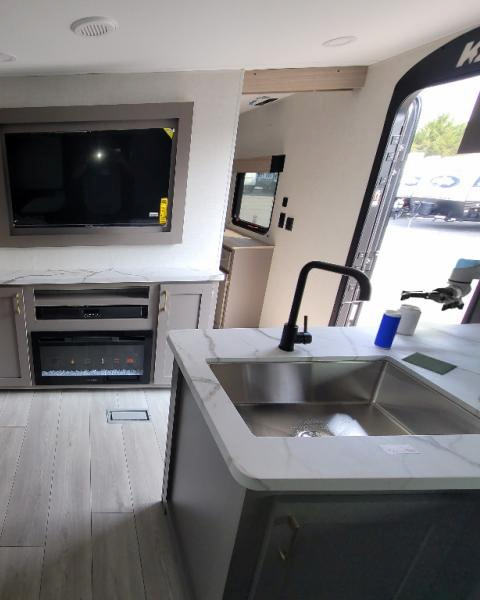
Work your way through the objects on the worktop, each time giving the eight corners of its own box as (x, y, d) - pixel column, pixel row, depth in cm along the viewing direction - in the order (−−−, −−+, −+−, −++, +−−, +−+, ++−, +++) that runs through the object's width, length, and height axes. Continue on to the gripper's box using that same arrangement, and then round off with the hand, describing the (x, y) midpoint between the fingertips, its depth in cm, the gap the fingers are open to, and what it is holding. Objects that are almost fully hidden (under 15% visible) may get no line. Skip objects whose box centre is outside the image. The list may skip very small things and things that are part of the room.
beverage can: (387, 344, 131) (399, 310, 126) (392, 350, 127) (405, 315, 122) (371, 342, 133) (382, 308, 128) (376, 348, 129) (387, 313, 124)
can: (395, 334, 139) (404, 309, 135) (386, 327, 146) (394, 302, 141) (417, 336, 137) (427, 310, 133) (406, 329, 143) (416, 304, 139)
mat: (456, 366, 116) (457, 365, 116) (441, 374, 112) (442, 373, 111) (416, 352, 125) (416, 352, 125) (401, 359, 121) (401, 359, 121)
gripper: (482, 310, 139) (459, 321, 131) (407, 293, 161) (384, 301, 153) (489, 294, 137) (466, 303, 129) (412, 279, 158) (389, 286, 150)
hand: (421, 302), depth 141 cm, fingers open, 13 cm apart
